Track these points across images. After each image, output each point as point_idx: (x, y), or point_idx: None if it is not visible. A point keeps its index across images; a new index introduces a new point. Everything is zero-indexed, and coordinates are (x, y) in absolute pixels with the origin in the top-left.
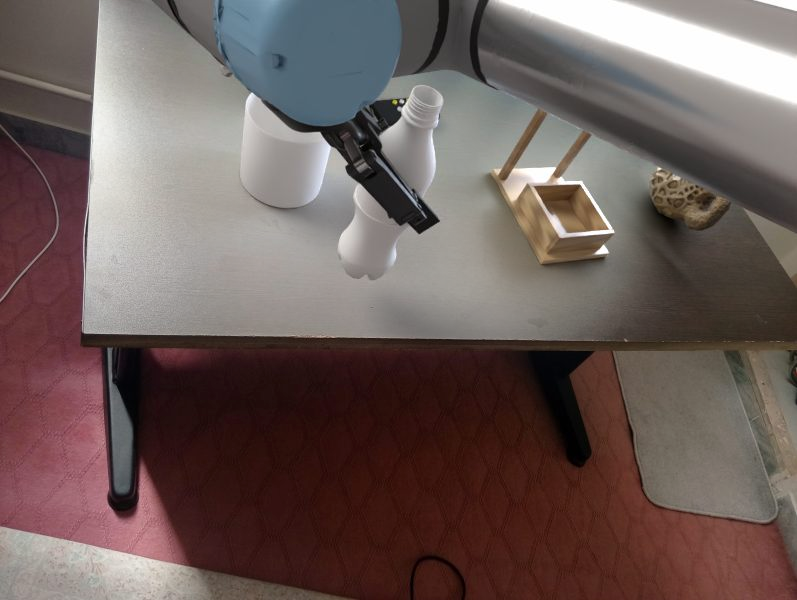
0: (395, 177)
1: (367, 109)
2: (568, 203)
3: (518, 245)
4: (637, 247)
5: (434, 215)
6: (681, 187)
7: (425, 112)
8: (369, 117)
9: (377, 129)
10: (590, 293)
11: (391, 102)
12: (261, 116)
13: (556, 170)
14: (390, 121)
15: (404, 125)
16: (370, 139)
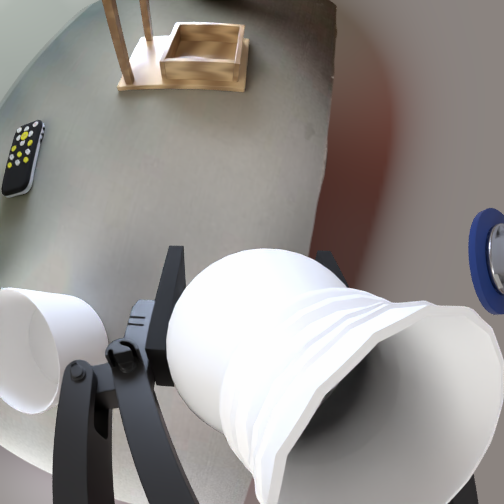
0: None
1: (89, 407)
2: (184, 41)
3: (215, 100)
4: (244, 21)
5: (338, 269)
6: None
7: (451, 437)
8: (156, 457)
9: (152, 392)
10: (284, 72)
11: (8, 169)
12: (9, 360)
13: (147, 37)
14: (25, 178)
15: (333, 452)
16: (151, 383)
